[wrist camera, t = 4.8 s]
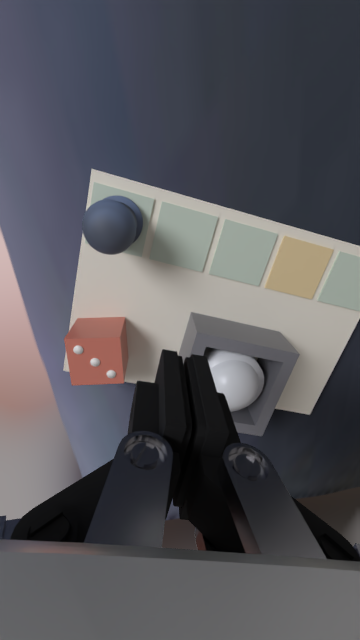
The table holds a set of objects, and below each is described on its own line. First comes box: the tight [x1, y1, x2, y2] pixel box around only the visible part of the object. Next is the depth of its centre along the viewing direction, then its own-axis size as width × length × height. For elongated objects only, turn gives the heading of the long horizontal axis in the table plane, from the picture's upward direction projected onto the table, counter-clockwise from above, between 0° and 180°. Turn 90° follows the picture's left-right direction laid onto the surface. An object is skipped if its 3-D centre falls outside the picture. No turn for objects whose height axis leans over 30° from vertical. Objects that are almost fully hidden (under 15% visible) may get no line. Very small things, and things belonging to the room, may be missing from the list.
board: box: [63, 169, 360, 415], centre depth 27 cm, size 17×25×1 cm
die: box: [64, 317, 128, 385], centre depth 25 cm, size 4×4×4 cm
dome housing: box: [178, 312, 300, 436], centre depth 26 cm, size 8×8×4 cm
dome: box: [203, 347, 264, 412], centre depth 25 cm, size 6×6×5 cm
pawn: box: [82, 196, 143, 255], centre depth 20 cm, size 4×4×6 cm
